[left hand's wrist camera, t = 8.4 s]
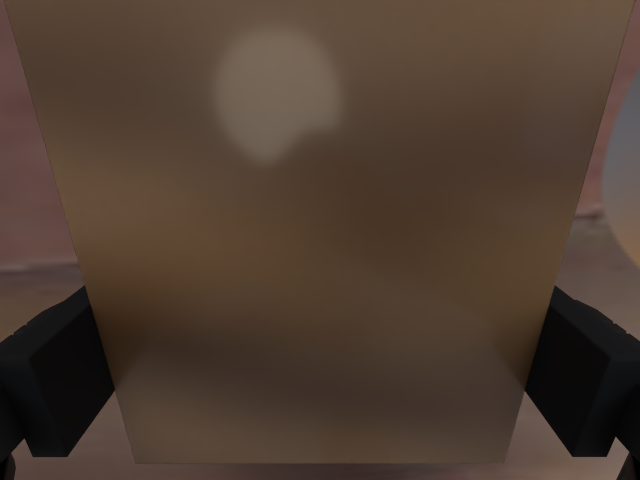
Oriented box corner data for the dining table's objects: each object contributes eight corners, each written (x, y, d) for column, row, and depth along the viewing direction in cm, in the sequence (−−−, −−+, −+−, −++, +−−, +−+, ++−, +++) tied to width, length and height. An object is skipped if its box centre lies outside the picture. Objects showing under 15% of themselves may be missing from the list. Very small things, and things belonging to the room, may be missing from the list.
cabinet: (162, -182, 12) (-283, -994, 3) (477, -183, 12) (919, -995, 3) (220, 298, 19) (135, 464, 10) (419, 298, 19) (504, 464, 10)
